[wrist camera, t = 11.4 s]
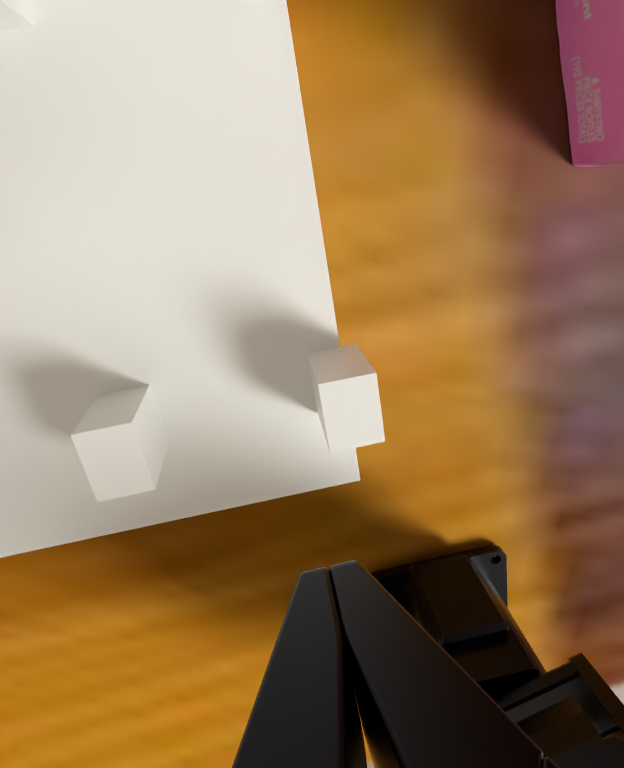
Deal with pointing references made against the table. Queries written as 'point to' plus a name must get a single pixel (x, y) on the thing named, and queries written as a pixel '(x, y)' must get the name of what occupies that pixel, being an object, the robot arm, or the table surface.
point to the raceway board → (162, 272)
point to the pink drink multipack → (593, 78)
